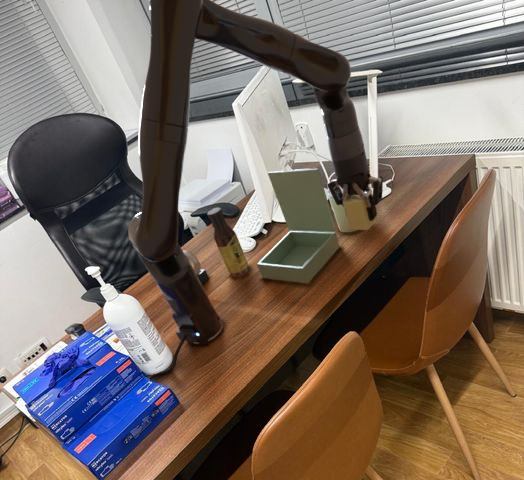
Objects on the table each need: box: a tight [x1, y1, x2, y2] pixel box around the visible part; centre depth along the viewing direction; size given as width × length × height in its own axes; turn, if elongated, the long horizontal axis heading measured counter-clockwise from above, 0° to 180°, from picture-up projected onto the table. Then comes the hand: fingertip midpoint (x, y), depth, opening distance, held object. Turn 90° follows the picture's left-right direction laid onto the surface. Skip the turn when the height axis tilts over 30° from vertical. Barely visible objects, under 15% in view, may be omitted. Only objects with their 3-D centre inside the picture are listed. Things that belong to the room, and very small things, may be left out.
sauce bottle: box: [207, 207, 250, 278], centre depth 127 cm, size 7×6×20 cm
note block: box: [344, 191, 378, 231], centre depth 111 cm, size 5×5×8 cm
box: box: [256, 230, 340, 284], centre depth 123 cm, size 17×16×5 cm
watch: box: [183, 249, 210, 286], centre depth 134 cm, size 6×8×11 cm
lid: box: [267, 167, 337, 232], centre depth 121 cm, size 17×16×5 cm
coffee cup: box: [327, 186, 357, 233], centre depth 126 cm, size 9×9×12 cm
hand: (362, 218), depth 112 cm, fingers closed on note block, 5 cm apart
